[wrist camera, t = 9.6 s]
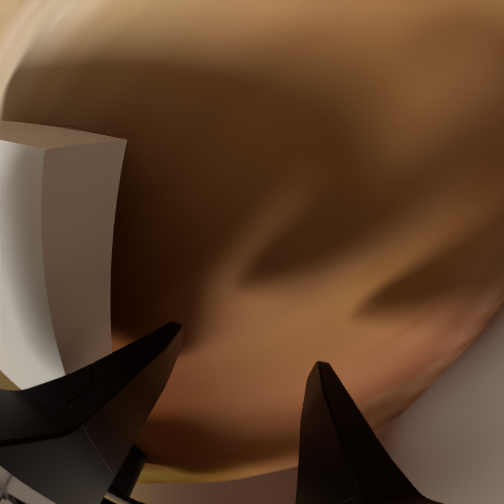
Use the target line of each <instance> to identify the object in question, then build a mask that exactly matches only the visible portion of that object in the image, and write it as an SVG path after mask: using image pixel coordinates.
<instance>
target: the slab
mask: <svg viewBox="0 0 504 504" xmlns="http://www.w3.org/2000/svg"><path fill="white" fill-rule="evenodd" d="M126 143H127V140H125V139H121V138H116V137H111V136H106V135H101V134H96V133H90V132H85V131H79V130H73V129H67V128H60V127H53V126H46V125H39V124H30V123H22V122H12V121H0V370H1V371H2V372H3V373H4V374H5V375H6V376H7V377H9V379H10V380H12V381H13V382H14V383H15V384H16V385H17V386H18V387H19V388H20V389H21V390H23V389H27V388H30V387H33V386H36V385H39V384H42V383H45V382H48V381H51V380H54V379H57V378H59V377H62V376H64V375H67V374H70V373H72V372H74V371H76V370H78V369H81V368H83V367H85V366H87V365H89V364H91V363H94V362H95V361H97V360H99V359H101V358H103V357H105V356H107V355H109V354H111V353H112V344H111V319H110V282H111V257H112V242H113V230H114V220H115V211H116V203H117V195H118V188H119V181H120V175H121V169H122V164H123V158H124V153H125V148H126Z"/></svg>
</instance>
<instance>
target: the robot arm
mask: <svg viewBox="0 0 504 504" xmlns="http://www.w3.org/2000/svg"><path fill="white" fill-rule="evenodd" d="M183 332H184V326H183V325H182V324H179V323H176V322H170V323H168V324H166V325H164V326H163V327H161V328H159V329H157V330H155V331H153V332H151V333H149V334H147V335H146V336H144V337H142V338H140V339H138V340H136V341H134V342H132V343H130V344H128V345H126V346H124V347H122V348H120V349H119V350H117V351H115V352H113V353H111V354H109V355H107V356H105V357H103V358H101V359H99V360H97V361H95V362H94V363H91V364H89V365H87V366H85V367H83V368H81V369H78V370H76V371H74V372H72V373H70V374H67V375H64V376H62V377H59V378H57V379H54V380H51V381H48V382H45V383H42V384H39V385H36V386H33V387H30V388H27V389H23V390H14V391H13V390H5V389H0V504H116V503H114V502H112V501H110V500H108V499H106V498H104V496H105V495H107V496H109V497H111V498H113V499H115V500H117V501H119V502H121V503H123V504H145V503H142V502H138V501H136V500H134V499H132V498H130V496H131V493H132V491H133V489H134V487H135V484H136V482H137V480H138V478H139V476H140V473H141V471H142V469H143V467H144V465H145V462H146V460H147V457H146V455H145V454H144V453H143V452H142V451H141V450H140V449H139V448H137V447H136V446H134V444H133V443H134V441H135V440H136V438H137V436H138V434H139V432H140V431H141V429H142V427H143V425H144V423H145V422H146V420H147V418H148V416H149V415H150V413H151V411H152V409H153V407H154V406H155V404H156V402H157V400H158V399H159V397H160V395H161V393H162V392H163V390H164V388H165V386H166V384H167V382H168V379H169V377H170V375H171V372H172V370H173V367H174V365H175V362H176V360H177V357H178V355H179V352H180V350H181V347H182V343H183ZM297 479H298V480H297V491H296V503H295V504H443V503H440V502H436V501H433V500H430V499H428V498H426V497H425V496H423V495H422V494H421V493H420V492H418V490H417V489H416V488H415V487H414V486H413V485H412V483H411V482H410V481H409V480H408V479H407V477H406V476H405V475H404V474H403V472H402V471H401V470H400V469H399V468H398V466H397V465H396V464H395V463H394V461H393V460H392V459H391V457H390V456H389V454H388V453H387V452H386V450H385V449H384V447H383V446H382V444H381V443H380V441H379V440H378V438H376V435H375V433H374V432H373V430H372V429H371V427H370V426H369V424H368V423H367V421H366V419H365V418H364V416H363V415H362V413H361V412H360V410H359V409H358V407H357V406H356V404H355V402H354V401H353V399H352V398H351V396H350V395H349V393H348V392H347V390H346V389H345V387H344V385H343V384H342V382H341V381H340V379H339V378H338V376H337V375H336V373H335V372H334V370H333V368H332V367H331V365H330V364H329V363H327V362H322V361H317V362H316V363H315V365H314V367H313V369H312V370H311V372H310V374H309V376H308V379H307V383H306V389H305V396H304V402H303V409H302V415H301V424H300V445H299V463H298V478H297Z"/></svg>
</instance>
